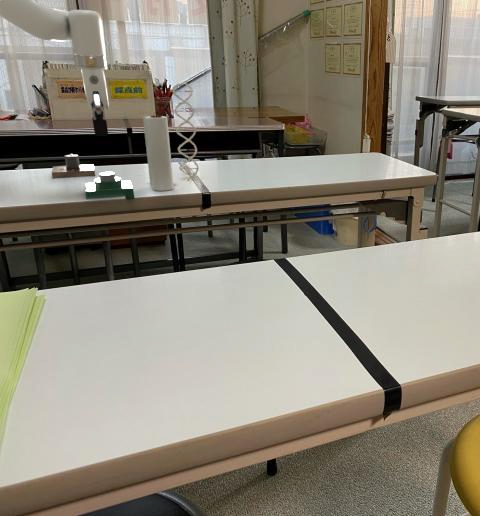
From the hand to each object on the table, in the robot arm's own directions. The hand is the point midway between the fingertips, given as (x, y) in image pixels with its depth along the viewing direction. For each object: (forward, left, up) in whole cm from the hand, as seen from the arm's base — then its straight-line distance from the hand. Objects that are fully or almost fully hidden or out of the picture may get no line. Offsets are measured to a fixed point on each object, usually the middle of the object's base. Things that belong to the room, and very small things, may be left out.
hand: (101, 133), depth 139 cm
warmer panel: (-9, +30, -18) cm, 36 cm away
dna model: (+25, +16, -18) cm, 35 cm away
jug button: (0, 0, -13) cm, 13 cm away
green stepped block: (0, 0, -18) cm, 18 cm away
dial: (-9, +30, -15) cm, 35 cm away
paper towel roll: (+15, +5, -18) cm, 24 cm away
